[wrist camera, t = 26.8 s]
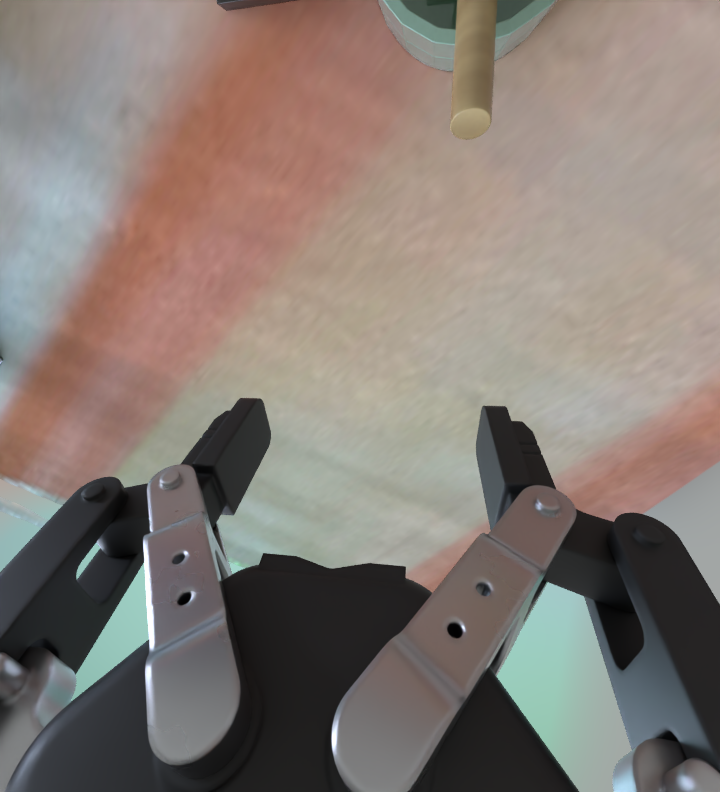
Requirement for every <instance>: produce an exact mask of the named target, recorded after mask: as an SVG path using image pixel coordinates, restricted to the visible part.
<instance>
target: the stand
mask: <svg viewBox="0 0 720 792" xmlns="http://www.w3.org/2000/svg"><path fill="white" fill-rule="evenodd" d="M289 1H296V0H217V4H218V5H219V6H221V7H222V8H224V9H225V10H226V11H227V10H234V9H241V8H248V7H255V6H262V5H269V4H276V3H282V2H289Z"/></svg>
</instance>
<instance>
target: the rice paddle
mask: <svg viewBox="0 0 720 792" xmlns="http://www.w3.org/2000/svg"><path fill="white" fill-rule="evenodd" d="M496 18H497V0H457V16H456V34H455V51H454V69H453V86H452V103H451V121H450V129H451V132H452V133H453V135H454V136H456V137H457V138H460V139H465V140H468V139H474V138H477V137H479V136H481V135H482V134H484V133H485V132H486V131H487V130H488V128H489V126H490V124H491V117H492V97H493V78H494V58H495V38H496Z"/></svg>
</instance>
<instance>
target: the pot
mask: <svg viewBox="0 0 720 792" xmlns="http://www.w3.org/2000/svg"><path fill="white" fill-rule="evenodd" d="M377 1H378V4H379V6H380V9H381V11H382V14H383V16H384V19H385V22H386V24H387V26H388V28H389V29H390V30H391V32H392V33H393V35H394V36H395V38H396V39H397V41H398V42H399V43H400V44H401V45H402V47H403V48H404V49H405V50H406V51H407V52H408V53H409V54H411V55H412V56H413V57H414V58H416V59H417V60H418V61H420V62H422V63H424V64H426V65H427V66H430V67H433V68H436V69H439V70H444V71H451V72H453V69H454V51H455V34H456V16H457V0H377ZM557 1H558V0H497V18H496V38H495V58H494V61H496V60H498V59H500V58H502V57H503V56H504V55H506V54H507V53H509V52H510V51H512V50H513V49H514V48H515V47H517V46H518V45H519V44H520V43H521V42H523V41H524V40H525V39H526V38H527V37H528V36H529V35H530V34H531V33H532V31H533V30H534V29H535V28H536V27H537V26H538V25H539V23H540V22H541V21H542V20H543V18H544V17H545V16H546V15H547V14H548V12H549V11H550V10H551V9H552V8H553V7H554V5H555V4H556V3H557Z"/></svg>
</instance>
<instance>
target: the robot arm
mask: <svg viewBox="0 0 720 792" xmlns="http://www.w3.org/2000/svg"><path fill="white" fill-rule="evenodd" d="M270 440H271V431H270V427H269V423H268V419H267V415H266V411H265V407H264V403H263V401H262V400H261V399H257V398H240V399H239V400H238V401H237V403H236V404H235V405H234V407H233V408H232V409H231V411H225V412H224V413H223V414H221V415H220V416H218V417H217V418H216V419H215V420H214V421H213V422H212V424H211V425H210V426H209V428H208V430H206V432H205V433H204V434H203V435H202V438H200V439H199V441H198V442H197V443H196V445H195V446H194V447H193V449H192V450H191V451H190V452H189V454H188V455H187V456H186V458H185V459H184V460H183V462H182V463H181V464H180V465H174V466H170V467H168V468H165V469H163V470H161V471H160V472H158V473H157V474H156V475H155V476H154V477H153V478H152V479H151V480H150V481H149V483H148V484H143V485H137V486H132V487H127V488H124V487H123V485H122V483H121V482H120V480H119V479H117V478H114V477H104V478H100V479H96V480H94V481H91V482H89V483H87V484H86V485H84V486H83V487H81V488H80V489H78V490H77V491H76V492H75V493H74V494H73V495H72V496H71V497H70V498H69V499H68V500H67V502H66V503H65V504H64V505H63V506H62V507H61V508H60V509H59V510H58V511H57V512H56V513H55V514H54V515H53V517H52V518H51V519H50V520H49V521H48V522H47V523H46V524H45V525H44V526H43V527H42V528H41V530H39V532H37V534H36V535H35V536H34V537H33V538H32V539H31V540H30V541H29V542H28V543H27V544H26V545H25V547H24V548H23V549H22V550H21V551H20V552H19V553H18V554H17V555H16V556H15V557H14V558H13V559H12V560H11V561H10V562H9V564H8V565H7V566H6V567H5V568H4V569H3V570H2V571H1V572H0V792H579V791H578V789H577V788H576V786H575V785H574V784H573V782H572V781H571V780H570V778H569V777H568V775H567V774H566V773H565V771H564V770H563V768H562V767H561V766H560V764H559V763H558V761H557V760H556V759H555V757H554V756H553V755H552V753H551V752H550V750H549V749H548V748H547V746H546V745H545V743H544V742H543V741H542V739H541V738H540V736H539V735H538V734H537V732H536V731H535V730H534V728H533V727H532V725H531V724H530V723H529V721H528V720H527V719H526V717H525V716H524V714H523V713H522V712H521V710H520V709H519V707H518V706H517V705H516V703H515V702H514V700H513V699H512V698H511V696H510V695H509V693H508V692H507V691H506V689H505V688H504V687H503V685H502V684H501V682H500V681H499V680H498V678H497V677H496V676H497V674H498V672H499V670H500V669H501V667H502V665H503V664H504V662H505V660H506V658H507V656H508V655H509V653H510V651H511V649H512V647H513V645H514V643H515V641H516V639H517V637H518V635H519V633H520V631H521V629H522V627H523V625H524V624H525V622H526V620H527V618H528V617H529V615H530V613H531V611H532V610H533V608H534V606H535V604H536V602H537V601H538V599H539V597H540V595H541V594H542V592H543V590H544V588H545V587H546V585H547V583H548V582H549V583H552V584H554V585H557V586H560V587H562V588H565V589H567V590H570V591H572V592H575V593H577V594H580V595H583V596H584V597H585V601H586V604H587V606H588V610H589V613H590V617H591V620H592V623H593V626H594V629H595V633H596V636H597V639H598V642H599V646H600V649H601V652H602V655H603V658H604V662H605V665H606V668H607V671H608V675H609V678H610V681H611V684H612V687H613V690H614V694H615V697H616V700H617V704H618V707H619V710H620V713H621V716H622V720H623V723H624V726H625V729H626V732H627V736H628V739H629V742H630V745H631V748H632V751H631V752H629V753H628V754H627V755H625V756H624V757H623V758H622V759H620V760H619V761H618V763H617V764H616V766H615V769H614V772H613V791H614V792H720V604H719V603H718V601H717V599H716V598H715V596H714V595H713V593H712V591H711V589H710V588H709V586H708V584H707V583H706V581H705V580H704V578H703V576H702V575H701V573H700V571H699V570H698V568H697V566H696V565H695V563H694V561H693V560H692V558H691V556H690V555H689V553H688V552H687V550H686V548H685V546H684V545H683V543H682V542H681V540H680V538H679V537H678V536H677V535H676V534H675V533H674V532H673V531H672V530H671V529H670V528H669V527H668V526H666V525H664V524H663V523H662V522H660V521H658V520H656V519H654V518H652V517H649V516H646V515H643V514H639V513H624V514H621V515H619V516H618V517H617V518H616V519H615V521H614V522H612V521H608V520H605V519H602V518H599V517H595V516H592V515H589V514H586V513H583V512H581V511H579V510H577V509H576V508H575V506H574V504H573V503H572V501H571V500H570V499H569V498H568V497H567V496H566V495H564V494H563V493H561V492H560V491H558V490H556V488H555V485H554V483H553V480H552V478H551V475H550V473H549V470H548V468H547V466H546V463H545V461H544V458H543V456H542V455H541V451H540V448H539V446H538V445H537V441H536V439H535V436H534V434H533V432H532V431H531V430H530V429H529V428H528V427H527V426H526V425H525V424H524V423H523V422H520V421H511V418H510V416H509V413H508V410H507V408H506V406H483V407H482V410H481V416H480V422H479V428H478V434H477V441H476V455H477V461H478V467H479V472H480V477H481V482H482V487H483V493H484V498H485V503H486V508H487V514H488V519H489V524H490V529H491V531H490V533H489V534H485V533H482V534H480V535H479V536H478V537H477V538H476V540H475V541H474V542H473V543H472V545H471V546H470V547H469V548H468V550H467V551H466V552H465V553H464V555H463V556H462V557H461V558H460V560H459V561H458V562H457V563H456V565H455V566H454V567H453V568H452V570H451V571H450V572H449V573H448V575H447V576H446V577H445V578H444V580H443V581H442V582H441V583H440V585H439V586H438V587H437V588H436V590H435V591H434V592H433V593H432V592H430V591H429V590H428V589H426V588H425V587H423V586H422V585H420V584H418V583H416V582H414V581H412V580H409V579H406V578H405V574H406V567H404V566H394V565H383V564H372V563H367V564H361V565H354V566H348V567H341V568H335V569H330V568H326V567H323V566H321V565H318V564H316V563H313V562H310V561H308V560H305V559H302V558H300V557H297V556H287V555H277V554H266V553H263V556H262V558H261V561H260V563H259V565H255V566H252V567H248V568H245V569H243V570H240V571H238V572H236V573H234V574H232V571H231V568H230V565H229V561H228V558H227V554H226V551H225V547H224V543H223V540H222V536H221V532H220V529H219V526H218V523H217V520H218V519H219V517H220V515H221V514H222V515H234V514H235V512H236V510H237V508H238V506H239V504H240V502H241V500H242V498H243V496H244V494H245V492H246V490H247V488H248V486H249V484H250V482H251V480H252V478H253V477H254V475H255V473H256V471H257V469H258V467H259V465H260V463H261V461H262V459H263V457H264V455H265V453H266V451H267V449H268V447H269V444H270ZM95 543H97V544H98V545H99V547H100V550H99V551H98V552H97V553H96V555H95V556H94V557H93V559H92V560H91V562H90V563H89V564H88V566H87V567H86V568H85V570H84V571H83V572H82V574H81V575H80V577H79V578H78V579H76V572H77V569H78V566H79V565H80V563H81V562H82V560H83V559H84V558H85V556H86V555H87V553H88V552H89V551H90V550H91V548H92V547H93V546H94V545H95ZM143 563H145V581H146V597H147V614H148V631H149V640H148V641H146V642H145V643H144V644H143V645H142V646H140V647H139V648H138V649H136V650H135V651H134V652H133V653H131V654H130V655H129V656H128V657H126V658H125V659H124V660H123V661H122V662H120V663H119V664H118V665H117V666H115V667H114V668H113V669H112V670H110V671H109V672H108V673H107V674H106V675H104V676H103V677H102V678H100V679H99V680H98V681H97V682H95V683H94V684H93V685H92V686H90V687H89V688H88V689H87V690H85V691H84V692H83V693H82V694H80V695H79V696H78V697H77V698H75V699H74V700H73V701H71V699H72V696H73V694H74V691H75V687H76V676H75V675H76V673H77V671H78V669H79V668H80V667H81V665H82V663H83V662H84V660H85V658H86V657H87V655H88V653H89V652H90V650H91V648H92V647H93V645H94V643H95V642H96V640H97V639H98V637H99V635H100V634H101V632H102V630H103V629H104V627H105V625H106V624H107V622H108V621H109V619H110V617H111V616H112V614H113V612H114V611H115V609H116V607H117V605H118V604H119V602H120V601H121V599H122V597H123V596H124V594H125V593H126V591H127V589H128V588H129V586H130V584H131V583H132V581H133V579H134V578H135V576H136V574H137V573H138V571H139V569H140V568H141V566H142V565H143Z"/></svg>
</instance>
